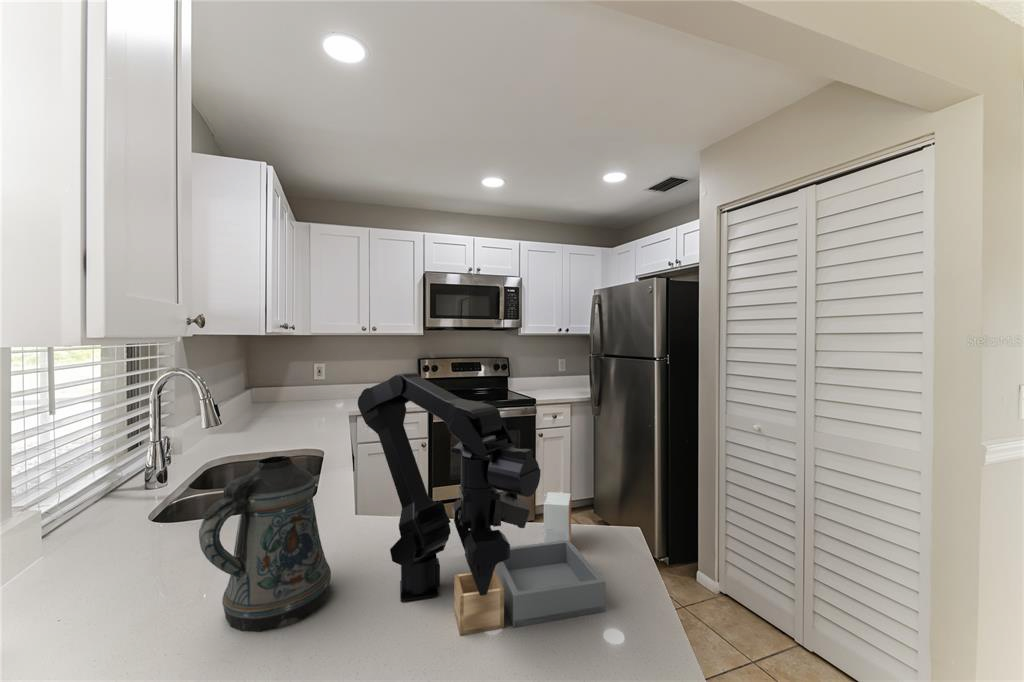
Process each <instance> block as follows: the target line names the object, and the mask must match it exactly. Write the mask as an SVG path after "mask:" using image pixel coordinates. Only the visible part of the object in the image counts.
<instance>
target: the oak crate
mask: <svg viewBox="0 0 1024 682" xmlns="http://www.w3.org/2000/svg"><path fill="white" fill-rule="evenodd" d="M453 577H454V584H453V585H454V588H453V589H454V591H453V592H454V595H453V597H454V605H453V607H454V609H453V611H454V617H455V620H457V621H456V624H457V629H458V634H459V636H467V635H471V634H477V633H481V632H488V631H494V630H498V629H499V630H500V629H505V628H504V627H505V606H504V589H503V587H502V584H501V582H500V580H499V577H498V575H497V573H496V571H495V570H494V572H493V575H492V579H491V582H490V586H489V589H488V592H487V595H483V596H480V594H479V592H478V589H477V586H476V584H475V581H474V579H473V576H472V573H471V572H468V573H467V572H466V573H459V574H454V576H453Z"/></svg>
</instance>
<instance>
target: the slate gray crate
mask: <svg viewBox="0 0 1024 682" xmlns="http://www.w3.org/2000/svg"><path fill="white" fill-rule="evenodd" d="M494 570H495V571H496V573H497V575H498V577H499V580H500V582H501V584H502V587H503V589H504V609H505V610H506V611H505V612H506V613H507V615H508V617H509V619H510V623H511V625H512V627H513V628H518V627H524V626H525V627H526V626H529V625H530V626H531V625H536V624H541V623H547V622H552V621H558V620H564V619H565V620H566V619H569V618H576V617H581V616H587V615H593V614H597V613H604V612H606V581H605V579H604V578H603V577H602V576H601V574H599V573H598V571H597V570H596V569H595V568H594V567H593V565H591V564H590V563H589V561H588V560H587V559H586V558H585V557H584V555H583V554H582V553H581V552H580V551H579V550H578V549H577V547H575V545H574V544H573V543H572V541H571V542H570V541H569V540H564V541H556V542H548V543H544V542H541V543H532V544H524V545H516V546H510V558H509V559H507V560H505V561H503V562H499V563H498V564H497V565H496V566H495V569H494Z"/></svg>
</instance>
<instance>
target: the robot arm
mask: <svg viewBox="0 0 1024 682" xmlns="http://www.w3.org/2000/svg"><path fill="white" fill-rule="evenodd" d="M409 402H411V403H413V404H414V405H417V406H418V407H420V408H422V409H424V410H425V411H427V412H429V413H430V414H432V415H433V416H434V417H437V418H439V419H440V420H442V421H443V422H444V424H446V427H447V429H448V432H449V433H450V434H452V435H453V436H454V437H455V438H456V439H457V440H458V443H457V444H456V445H454V446H453V447H452V448H451V449H450V452H451V454H454V455H460V485H459V486H458V493H459V495H460V499H459V498H458V499H456V500H455V501H454V502H453V504H452V517H453V522H454V526H455V528H456V531H457V534H458V537H459V539H460V542H461V544H462V547H463V550H464V556H465V559H466V563H467V565H468V568H469V570H470V573H472V576H473V579H474V581H475V584H476V586H477V589H478V592H479V594H480V596H483V595H487V592H488V589H489V586H490V582H491V579H492V575H493V572H494V569H495V566H496V565H497V564H498V563H499V562H503V561H505V560H507V559H509V558H510V547H511V544H510V542H509V541H508V539H507V537H506V535H505V534H504V533H503V532H502V531H501V530H499V529H492V528H491V527H494V528H495V527H501V526H502V522H503V523H506V524H510V525H514V526H516V527H518V528H520V529H525V528H526V524H527V522H528V519H529V516H530V513H531V510H532V509H531V507H530V506H529V505H528V504H527V503H526V502H525V500H523V499H522V498H518V496H521V497H525V498H530V497H531V496H533V495H534V494H535V492H536V491H537V489H538V487H539V485H540V479H541V468H540V466H539V463H538V460H537V459H536V458H534V457H533V456H534V451H533V449H531V448H517V447H515V446H516V443H515V441H514V440H513V437H512V436H511V435H512V434H510V432H509V430H508V428H507V427H506V425H505V423H504V421H503V419H502V416H501V412H500V410H499V409H498V408H497V407H496V406H494V405H492V404H488V403H486V402H485V403H484V402H482V401H478V400H477V401H476V400H470V399H469V400H468V399H463V398H461V397H459V396H457V395H455V394H453V393H452V392H449V391H448V390H445V389H444V388H442V387H441V386H438V385H436V384H434V383H433V382H431V381H429V380H427V379H425V378H423V377H422V375H420V374H419V373H416V372H405V373H404V372H403V373H397V374H395V375H393V376H392V377H390V378H389V379H387V380H385V381H383V382H381V383H377V384H376V385H373V386H372V387H366V388H364V389H363V390H362V391H361V393H360V395H359V397H358V399H357V407H358V409H359V413H360V414H361V416H362V419H363V421H364V423H365V425H367V426H368V427H369V428H370V429H371V430H372V431H373V432H375V433H376V435H378V439H379V441H380V444H381V448H382V449H383V454H384V457H385V459H386V460H385V461H386V463H387V466H388V469H389V472H390V475H391V478H392V482H393V484H394V486H395V490H396V493H397V494H396V495H397V496H398V499H399V502H400V505H401V511H400V517H399V523H398V529H399V534H400V538H399V539H398V540H397V541H396V542H395V544H393V545H392V546H391V548H390V549H389V551H390V557H391V561H392V562H393V563H395V564H397V565H400V581H399V584H400V585H399V590H400V591H399V595H400V596H399V597H400V598H399V601H400V602H402V603H403V602H408V601H409V602H410V601H415V600H424V599H429V598H435V597H436V598H437V597H438V596H439V592H438V591H439V590H438V588H440V586H441V563H440V560H439V558H438V557H437V554H438V553H440V552H443V551H444V550H445V548H446V544H447V542H448V541H449V539H450V538H449V537H450V535H451V526H450V523H451V520H450V518H449V516H448V515H447V511H446V507H445V504H444V503H443V501H442V500H441V501H438V502H436V501H434V500H433V499H432V498H431V497H430V496H429V494H428V492H427V489H426V486H425V483H424V481H423V478H422V475H421V471H420V470H419V469H420V468H419V466H418V463H417V461H416V457H415V455H414V452H413V448H412V447H411V443H410V440H409V437H408V435H407V432H406V428H405V424H404V423H405V418H406V413H407V406H406V404H408V403H409ZM493 439H494V440H493ZM489 440H492V441H489ZM487 441H488V442H487ZM484 442H485V443H484ZM501 491H502V492H501Z"/></svg>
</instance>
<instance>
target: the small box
mask: <svg viewBox="0 0 1024 682" xmlns="http://www.w3.org/2000/svg"><path fill="white" fill-rule="evenodd" d="M564 540H569V541H570V542H571V543H572V493H566V492H552V491H548V492H547V495H546V497H545V501H544V503H543V543H548V542H556V541H564Z"/></svg>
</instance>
